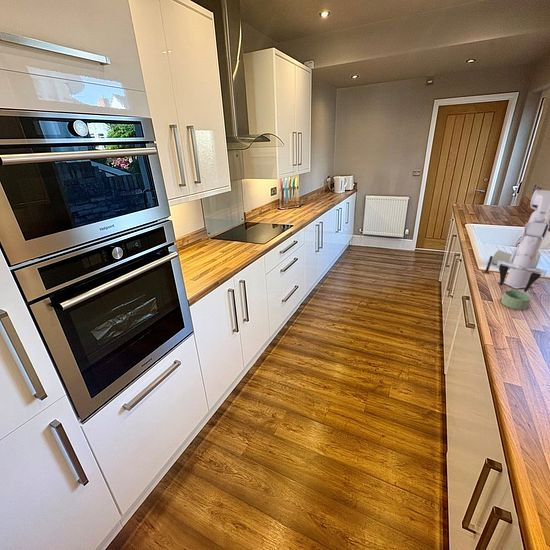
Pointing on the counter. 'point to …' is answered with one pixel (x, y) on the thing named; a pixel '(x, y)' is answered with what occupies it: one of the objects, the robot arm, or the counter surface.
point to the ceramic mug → (501, 257)
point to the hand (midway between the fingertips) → (513, 287)
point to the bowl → (515, 299)
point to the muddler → (488, 265)
